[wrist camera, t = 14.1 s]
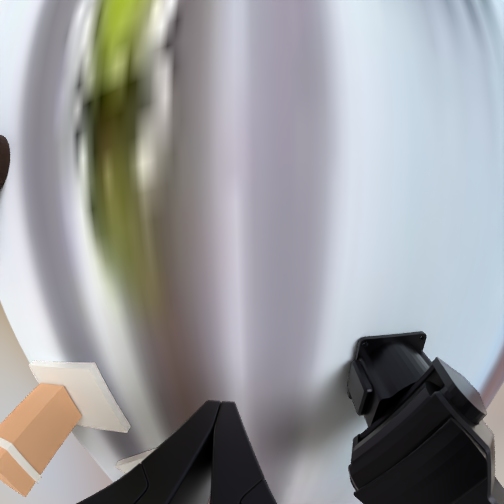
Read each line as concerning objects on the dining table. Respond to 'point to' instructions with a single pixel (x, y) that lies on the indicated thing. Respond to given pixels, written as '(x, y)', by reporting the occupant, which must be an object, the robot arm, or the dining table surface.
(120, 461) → the base plate
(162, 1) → the dining table surface
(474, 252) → the dining table surface
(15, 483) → the post one band
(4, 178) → the coffee mug
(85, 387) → the base plate
